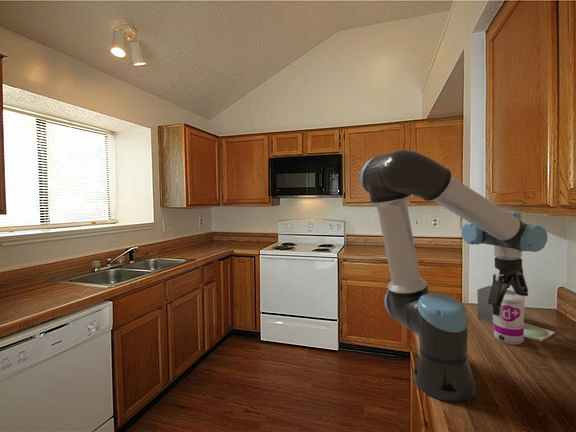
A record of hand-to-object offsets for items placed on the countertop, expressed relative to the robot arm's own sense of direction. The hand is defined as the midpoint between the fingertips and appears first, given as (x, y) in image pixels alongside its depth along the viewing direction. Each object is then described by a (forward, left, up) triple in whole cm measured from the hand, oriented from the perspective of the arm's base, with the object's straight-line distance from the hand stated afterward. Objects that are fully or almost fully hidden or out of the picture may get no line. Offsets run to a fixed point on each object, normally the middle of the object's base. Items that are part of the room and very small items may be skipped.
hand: (509, 318), depth 105 cm
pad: (+11, -1, -7) cm, 14 cm away
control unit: (+12, +10, -7) cm, 17 cm away
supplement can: (0, 0, -8) cm, 8 cm away
